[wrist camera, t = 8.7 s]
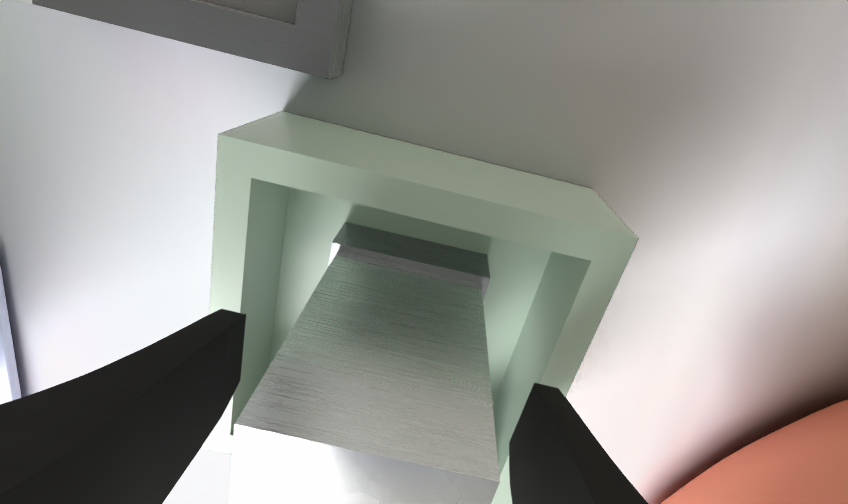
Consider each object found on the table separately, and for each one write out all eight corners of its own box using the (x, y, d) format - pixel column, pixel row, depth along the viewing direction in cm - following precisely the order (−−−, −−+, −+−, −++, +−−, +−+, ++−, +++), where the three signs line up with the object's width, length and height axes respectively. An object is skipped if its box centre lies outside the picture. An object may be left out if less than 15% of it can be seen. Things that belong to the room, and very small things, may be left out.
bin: (255, 365, 18) (202, 448, 14) (281, 111, 14) (217, 133, 10) (499, 422, 18) (509, 517, 14) (592, 188, 14) (639, 238, 10)
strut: (326, 340, 16) (212, 592, 9) (345, 221, 14) (220, 411, 7) (452, 368, 16) (446, 640, 9) (487, 254, 14) (516, 475, 7)
